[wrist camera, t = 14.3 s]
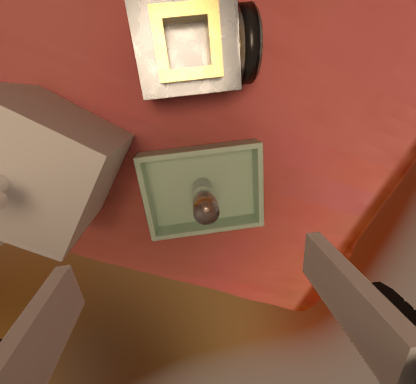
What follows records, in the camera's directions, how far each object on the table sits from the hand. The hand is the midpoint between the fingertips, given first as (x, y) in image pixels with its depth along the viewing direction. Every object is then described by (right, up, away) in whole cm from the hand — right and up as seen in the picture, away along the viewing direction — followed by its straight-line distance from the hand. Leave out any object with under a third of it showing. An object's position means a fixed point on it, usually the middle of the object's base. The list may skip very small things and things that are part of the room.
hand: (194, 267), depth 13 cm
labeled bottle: (0, +5, +28) cm, 28 cm away
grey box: (-22, +9, +25) cm, 34 cm away
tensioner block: (-1, +24, +21) cm, 32 cm away
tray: (0, +5, +28) cm, 29 cm away
